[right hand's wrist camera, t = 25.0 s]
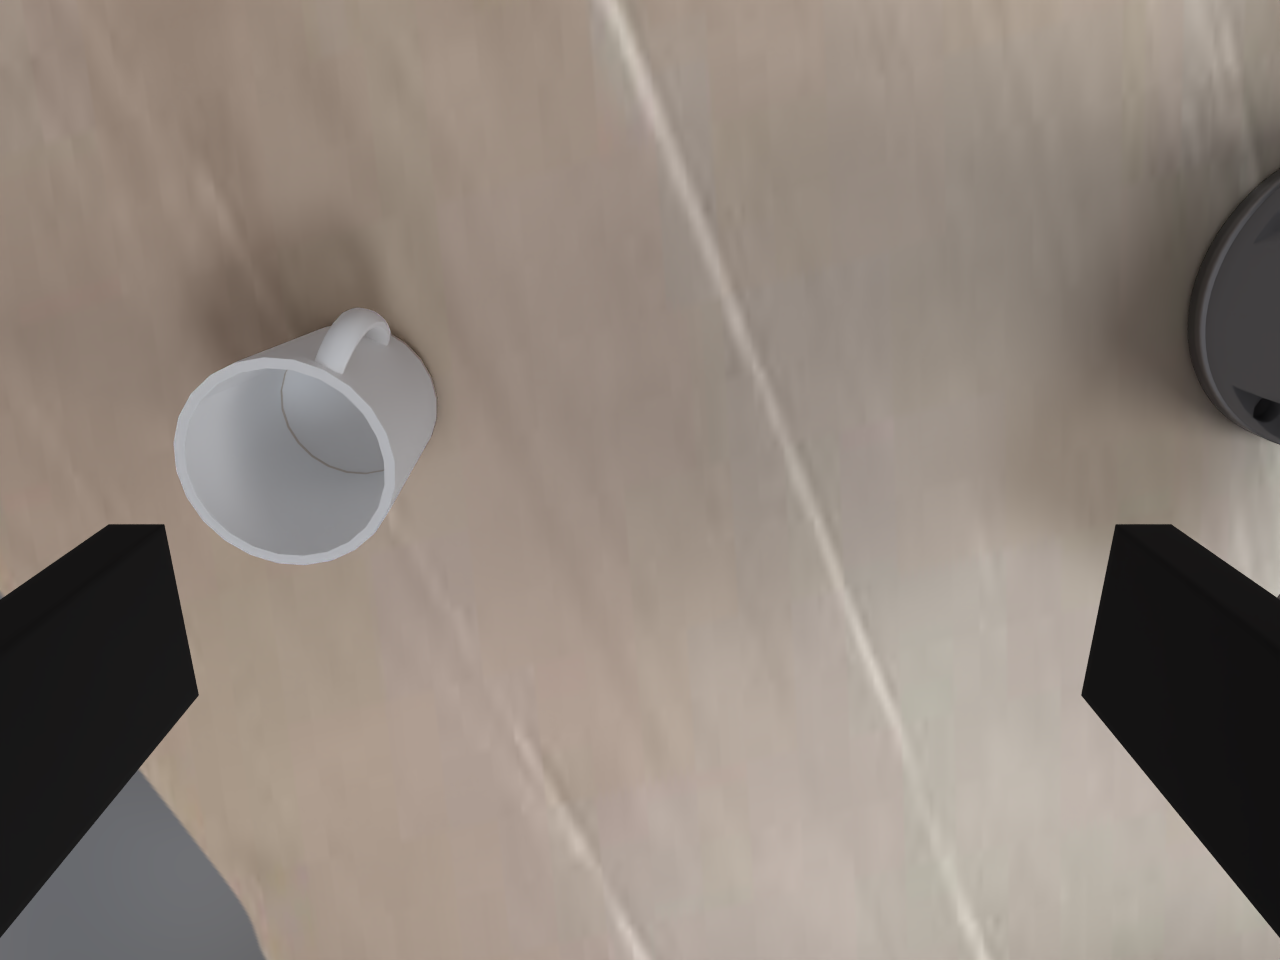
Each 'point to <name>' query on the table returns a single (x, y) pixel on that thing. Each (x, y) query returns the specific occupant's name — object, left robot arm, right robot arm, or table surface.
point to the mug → (307, 440)
